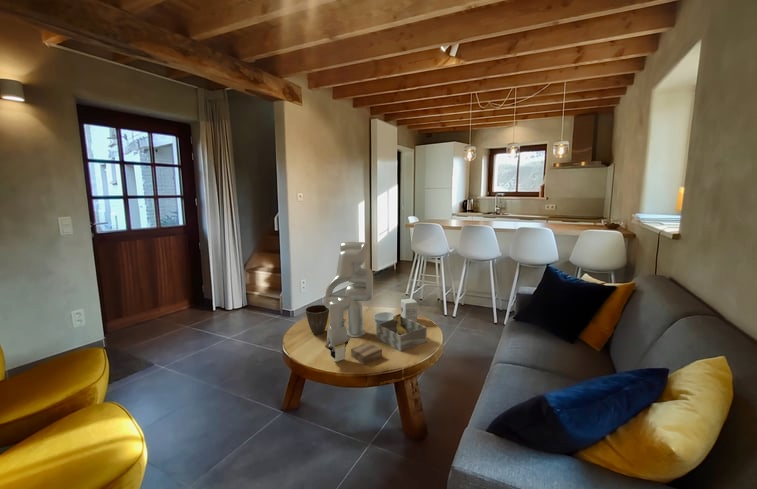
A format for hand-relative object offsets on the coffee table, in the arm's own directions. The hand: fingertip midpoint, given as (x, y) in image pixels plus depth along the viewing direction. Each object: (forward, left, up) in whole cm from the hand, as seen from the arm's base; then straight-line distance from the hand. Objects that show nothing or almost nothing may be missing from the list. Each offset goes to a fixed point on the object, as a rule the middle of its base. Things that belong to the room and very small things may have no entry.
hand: (338, 355), depth 182 cm
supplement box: (-19, +66, -4) cm, 69 cm away
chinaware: (-20, +47, -4) cm, 52 cm away
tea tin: (0, 0, -2) cm, 2 cm away
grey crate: (+1, +43, -3) cm, 44 cm away
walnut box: (+6, +14, -4) cm, 16 cm away
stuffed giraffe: (0, +43, -3) cm, 44 cm away
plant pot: (-40, +8, -4) cm, 42 cm away
